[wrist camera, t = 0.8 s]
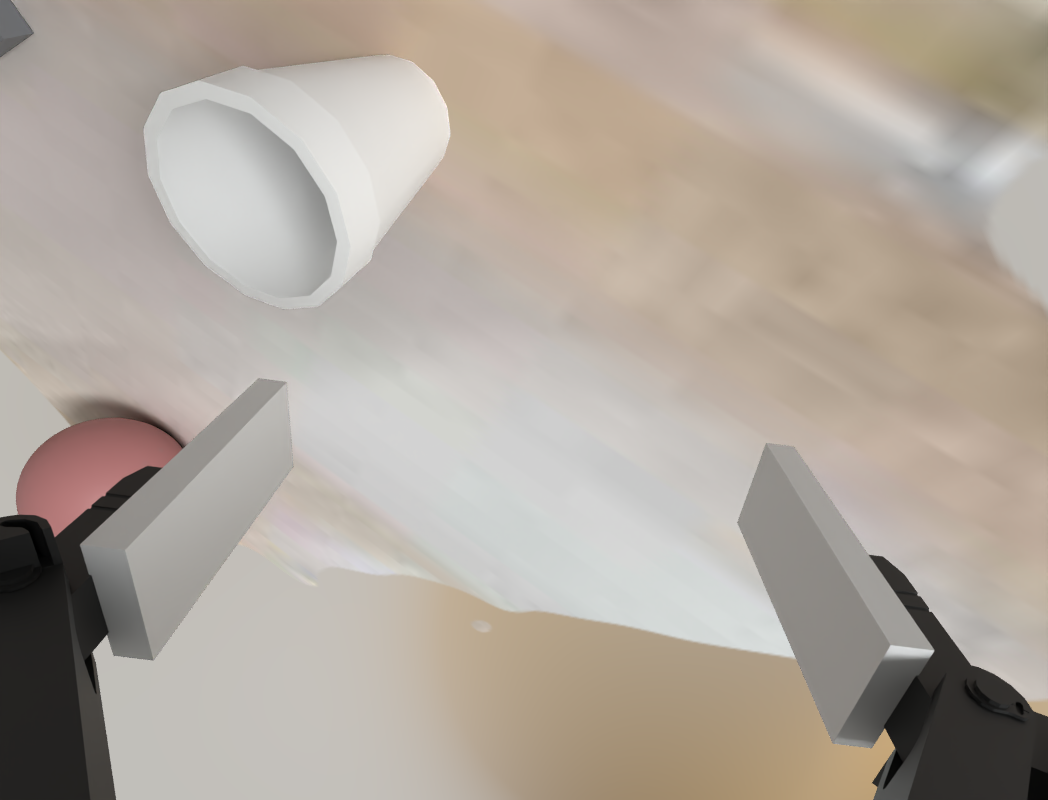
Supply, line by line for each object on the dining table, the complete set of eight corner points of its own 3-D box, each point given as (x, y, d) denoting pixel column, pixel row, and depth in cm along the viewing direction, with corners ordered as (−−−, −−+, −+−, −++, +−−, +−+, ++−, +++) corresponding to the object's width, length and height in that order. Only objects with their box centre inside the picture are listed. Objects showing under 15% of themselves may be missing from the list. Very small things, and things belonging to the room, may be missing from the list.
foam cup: (406, 227, 37) (281, 339, 28) (298, 100, 34) (117, 180, 25) (509, 137, 32) (392, 242, 22) (389, -26, 28) (196, 19, 19)
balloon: (170, 499, 78) (69, 599, 67) (81, 381, 65) (-62, 481, 54) (262, 521, 73) (168, 633, 62) (183, 398, 60) (49, 511, 49)
